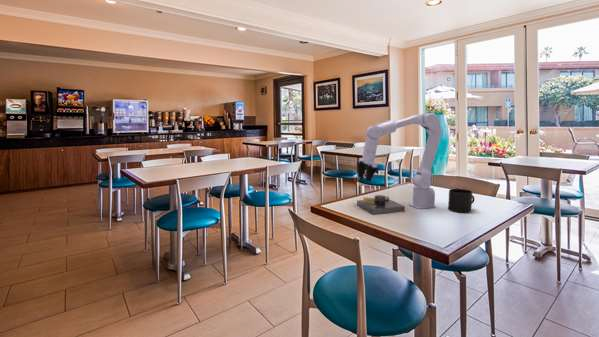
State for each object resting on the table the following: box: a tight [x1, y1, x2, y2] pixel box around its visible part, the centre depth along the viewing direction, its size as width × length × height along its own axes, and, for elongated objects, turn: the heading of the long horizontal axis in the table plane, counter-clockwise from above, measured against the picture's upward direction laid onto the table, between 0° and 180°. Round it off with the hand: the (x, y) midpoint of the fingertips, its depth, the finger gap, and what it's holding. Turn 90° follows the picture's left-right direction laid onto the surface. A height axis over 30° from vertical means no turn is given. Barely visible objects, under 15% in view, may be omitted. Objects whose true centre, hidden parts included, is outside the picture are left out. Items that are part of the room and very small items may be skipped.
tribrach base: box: [356, 196, 406, 215], centre depth 151 cm, size 16×16×4 cm
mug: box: [448, 188, 475, 214], centre depth 146 cm, size 9×12×9 cm
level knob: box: [362, 194, 386, 204], centre depth 151 cm, size 10×5×3 cm, turn 75°
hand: (364, 179), depth 153 cm, fingers open, 7 cm apart
